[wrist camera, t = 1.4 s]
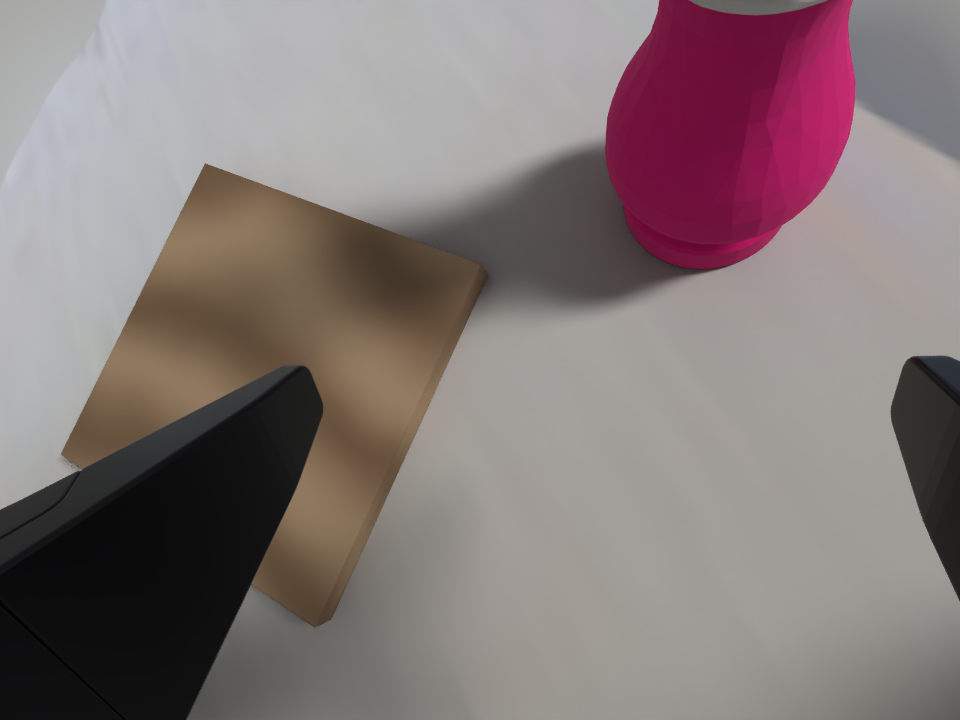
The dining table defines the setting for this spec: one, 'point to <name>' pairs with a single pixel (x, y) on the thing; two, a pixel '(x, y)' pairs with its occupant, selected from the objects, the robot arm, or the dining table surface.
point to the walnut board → (289, 357)
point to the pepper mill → (729, 123)
